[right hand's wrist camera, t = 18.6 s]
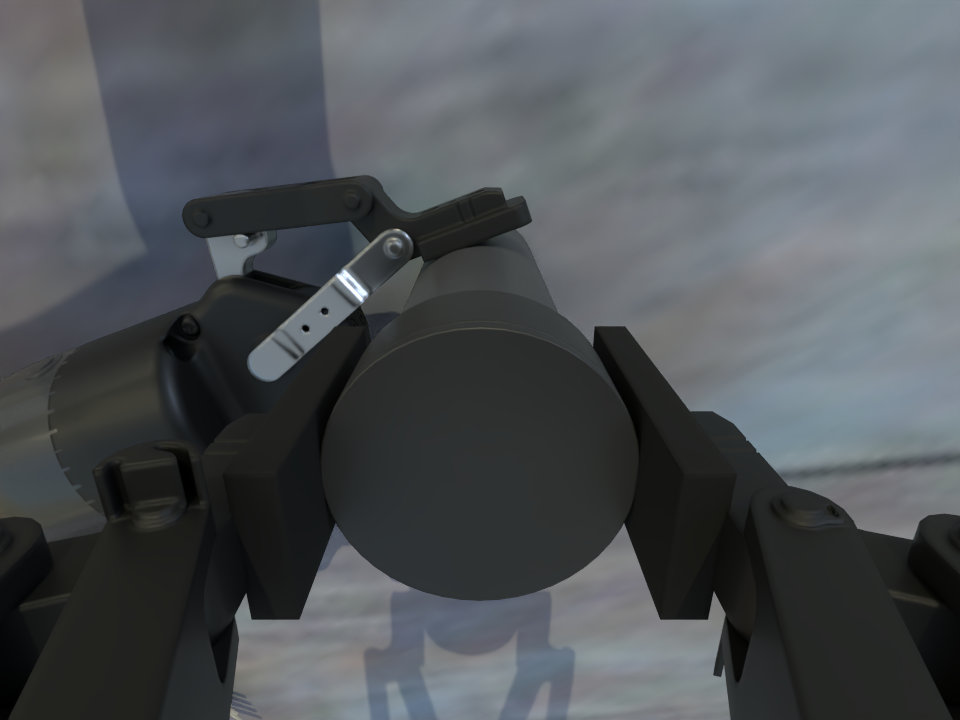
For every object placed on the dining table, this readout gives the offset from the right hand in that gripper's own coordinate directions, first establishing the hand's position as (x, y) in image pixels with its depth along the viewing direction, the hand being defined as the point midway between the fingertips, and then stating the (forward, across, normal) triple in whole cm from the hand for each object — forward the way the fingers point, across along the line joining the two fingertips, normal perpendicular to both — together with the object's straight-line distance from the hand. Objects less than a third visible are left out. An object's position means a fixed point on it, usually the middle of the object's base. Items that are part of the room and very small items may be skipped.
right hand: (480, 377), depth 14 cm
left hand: (+6, -2, -1) cm, 6 cm away
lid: (-4, 0, 0) cm, 4 cm away
